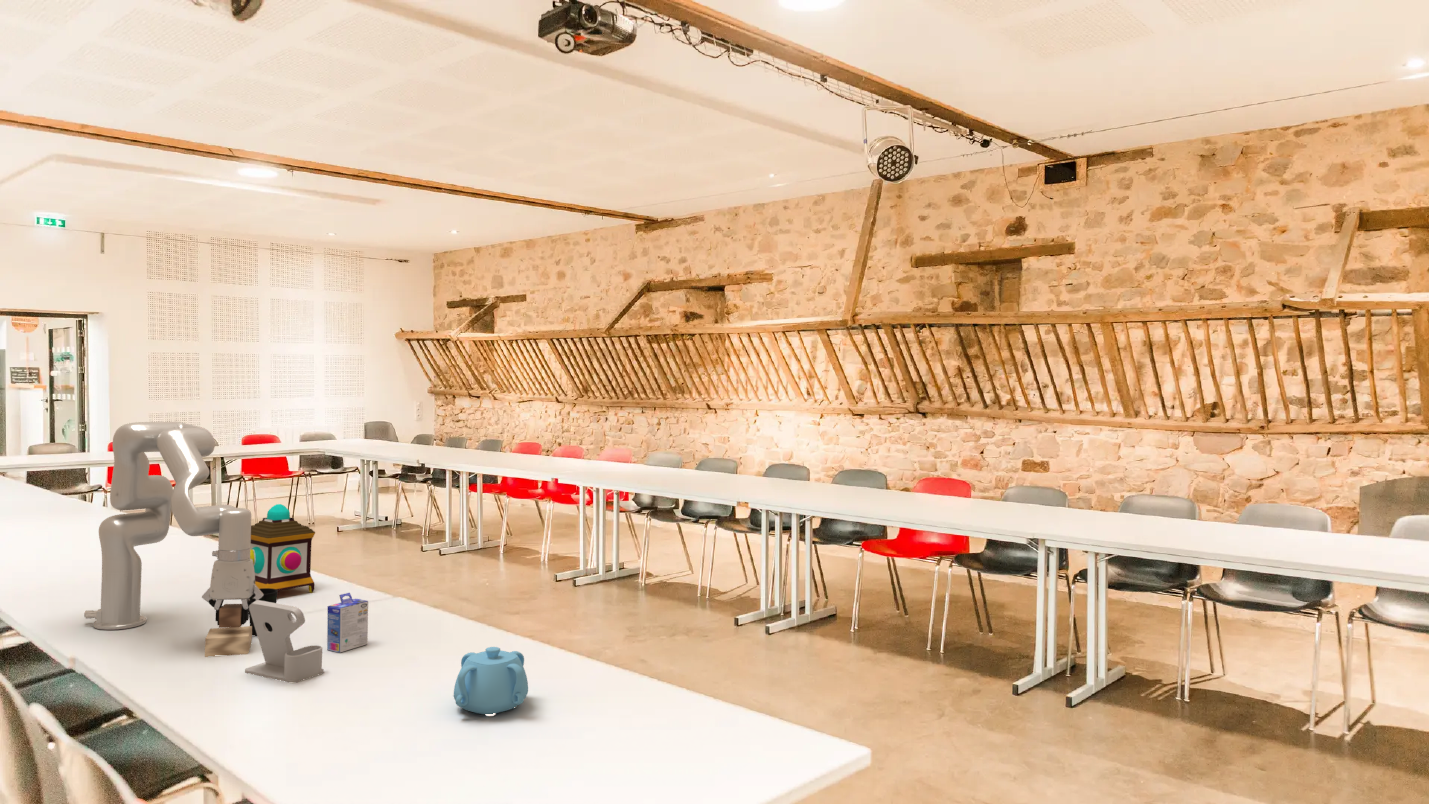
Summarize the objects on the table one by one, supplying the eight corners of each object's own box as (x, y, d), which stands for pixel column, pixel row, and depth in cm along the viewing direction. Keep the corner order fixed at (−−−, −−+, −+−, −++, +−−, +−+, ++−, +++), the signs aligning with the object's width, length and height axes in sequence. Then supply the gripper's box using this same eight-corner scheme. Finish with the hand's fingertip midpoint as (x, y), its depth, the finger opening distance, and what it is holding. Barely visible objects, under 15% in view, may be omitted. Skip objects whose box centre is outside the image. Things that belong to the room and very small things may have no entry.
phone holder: (327, 672, 222) (329, 600, 222) (293, 684, 213) (296, 609, 212) (275, 661, 229) (278, 591, 228) (241, 672, 219) (243, 599, 219)
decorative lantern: (320, 592, 302) (323, 504, 302) (264, 603, 286) (267, 509, 285) (286, 583, 313) (289, 498, 313) (230, 593, 296) (233, 503, 296)
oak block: (204, 658, 230) (205, 638, 230) (209, 647, 239) (210, 628, 239) (248, 655, 234) (248, 636, 234) (251, 644, 243) (252, 626, 243)
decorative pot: (522, 721, 196) (525, 659, 195) (447, 720, 194) (450, 658, 194) (530, 695, 212) (532, 638, 212) (460, 695, 210) (463, 637, 210)
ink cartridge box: (353, 641, 249) (355, 589, 249) (368, 644, 246) (370, 592, 246) (324, 650, 240) (326, 596, 240) (340, 653, 237) (341, 599, 237)
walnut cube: (218, 627, 234) (219, 608, 234) (224, 622, 239) (224, 604, 238) (239, 627, 235) (240, 608, 235) (244, 622, 240) (245, 603, 240)
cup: (263, 638, 248) (265, 595, 248) (239, 635, 249) (241, 593, 249) (282, 631, 255) (284, 589, 255) (259, 628, 257) (260, 587, 257)
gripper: (194, 558, 231) (191, 628, 231) (265, 557, 235) (263, 626, 235) (203, 552, 238) (200, 620, 238) (272, 552, 242) (270, 619, 243)
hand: (232, 622), depth 237 cm, fingers closed on walnut cube, 5 cm apart
